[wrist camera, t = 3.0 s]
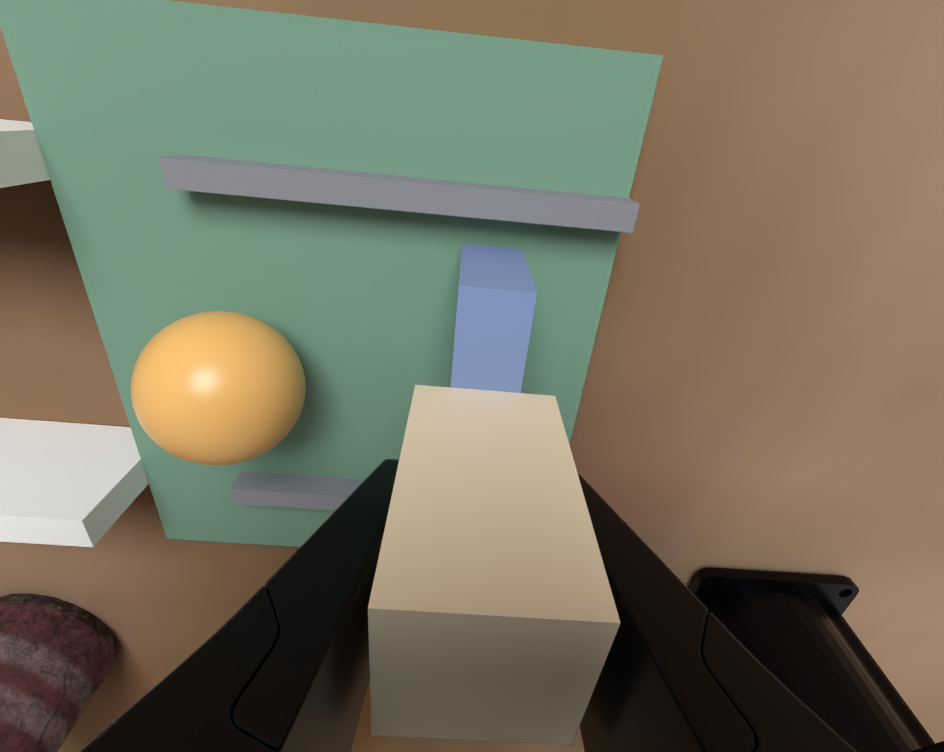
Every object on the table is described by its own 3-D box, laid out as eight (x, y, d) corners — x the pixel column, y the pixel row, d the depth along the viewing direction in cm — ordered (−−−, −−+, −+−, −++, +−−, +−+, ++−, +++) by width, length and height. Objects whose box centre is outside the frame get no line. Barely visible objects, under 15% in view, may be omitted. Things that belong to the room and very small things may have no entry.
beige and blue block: (551, 252, 11) (677, 479, 4) (512, 479, 14) (546, 807, 8) (432, 241, 11) (363, 457, 4) (420, 472, 14) (373, 800, 8)
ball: (318, 295, 12) (262, 362, 9) (326, 414, 14) (283, 504, 10) (172, 283, 12) (62, 346, 9) (200, 404, 13) (116, 494, 10)
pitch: (640, 62, 11) (678, 51, 9) (536, 529, 18) (544, 582, 16) (48, -3, 10) (-56, -31, 8) (189, 506, 17) (152, 557, 15)
